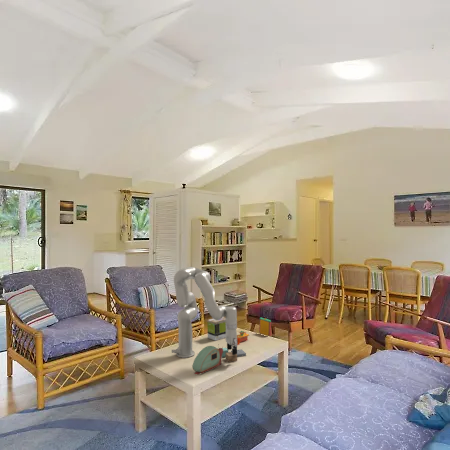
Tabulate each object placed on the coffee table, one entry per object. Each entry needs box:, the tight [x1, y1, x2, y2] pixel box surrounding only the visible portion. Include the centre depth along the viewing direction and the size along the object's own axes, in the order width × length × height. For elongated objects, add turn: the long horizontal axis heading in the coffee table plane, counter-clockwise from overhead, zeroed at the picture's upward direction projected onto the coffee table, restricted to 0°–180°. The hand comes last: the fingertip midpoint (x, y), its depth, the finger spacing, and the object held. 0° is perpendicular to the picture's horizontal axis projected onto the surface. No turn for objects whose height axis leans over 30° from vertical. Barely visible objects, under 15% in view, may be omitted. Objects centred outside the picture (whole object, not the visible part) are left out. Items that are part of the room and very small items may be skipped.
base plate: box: [230, 348, 247, 358], centre depth 234 cm, size 8×8×2 cm
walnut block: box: [225, 351, 238, 363], centre depth 224 cm, size 6×6×5 cm
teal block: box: [221, 347, 229, 358], centre depth 232 cm, size 5×5×5 cm
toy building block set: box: [237, 317, 273, 346], centre depth 268 cm, size 12×35×14 cm, turn 129°
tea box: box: [206, 317, 226, 341], centre depth 272 cm, size 15×10×15 cm, turn 130°
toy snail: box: [191, 344, 223, 375], centre depth 212 cm, size 25×8×14 cm, turn 139°
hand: (232, 351), depth 224 cm, fingers open, 9 cm apart
